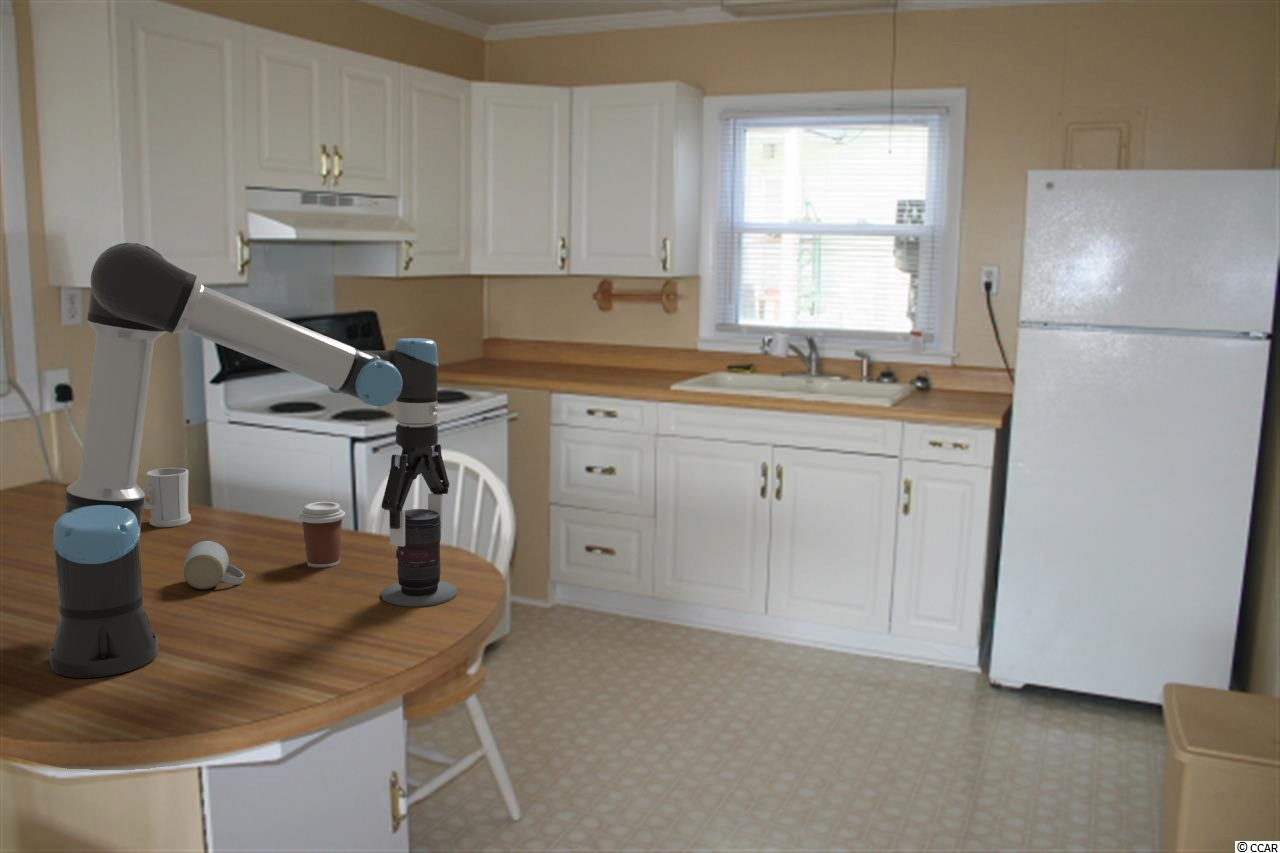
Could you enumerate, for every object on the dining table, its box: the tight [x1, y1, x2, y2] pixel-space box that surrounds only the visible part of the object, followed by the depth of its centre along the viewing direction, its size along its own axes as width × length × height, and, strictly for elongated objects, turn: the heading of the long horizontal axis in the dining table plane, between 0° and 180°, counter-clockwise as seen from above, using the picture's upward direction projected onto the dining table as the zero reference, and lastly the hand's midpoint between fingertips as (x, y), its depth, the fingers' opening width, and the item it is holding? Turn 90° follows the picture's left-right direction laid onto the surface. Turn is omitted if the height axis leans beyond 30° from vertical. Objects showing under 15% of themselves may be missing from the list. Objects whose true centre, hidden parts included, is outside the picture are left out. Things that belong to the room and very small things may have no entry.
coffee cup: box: [298, 501, 346, 568], centre depth 221 cm, size 9×9×12 cm
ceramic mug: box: [183, 540, 246, 590], centre depth 207 cm, size 11×8×8 cm
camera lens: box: [395, 508, 442, 596], centre depth 202 cm, size 8×8×15 cm
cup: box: [140, 467, 192, 528], centre depth 248 cm, size 10×9×12 cm
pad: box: [380, 580, 458, 608], centre depth 204 cm, size 14×14×1 cm
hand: (417, 536), depth 202 cm, fingers open, 13 cm apart
